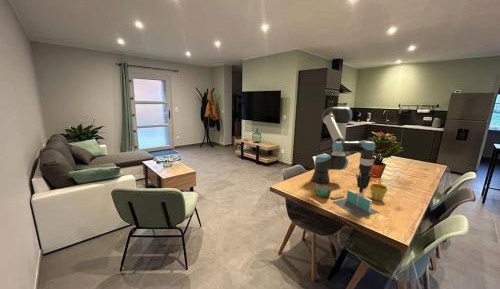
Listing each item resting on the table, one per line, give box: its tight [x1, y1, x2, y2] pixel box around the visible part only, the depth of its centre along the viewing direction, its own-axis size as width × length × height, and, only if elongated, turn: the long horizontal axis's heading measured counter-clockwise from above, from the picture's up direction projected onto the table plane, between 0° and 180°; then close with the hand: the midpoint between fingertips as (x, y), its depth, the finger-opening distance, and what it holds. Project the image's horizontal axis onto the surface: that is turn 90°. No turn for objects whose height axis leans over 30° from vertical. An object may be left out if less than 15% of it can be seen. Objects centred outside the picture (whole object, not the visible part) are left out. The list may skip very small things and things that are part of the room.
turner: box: [329, 194, 345, 201], centre depth 151 cm, size 18×6×2 cm, turn 114°
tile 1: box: [345, 189, 360, 206], centre depth 141 cm, size 8×2×8 cm, turn 24°
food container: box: [314, 182, 333, 199], centre depth 150 cm, size 12×6×10 cm, turn 45°
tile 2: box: [358, 195, 373, 213], centre depth 133 cm, size 8×2×8 cm, turn 24°
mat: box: [331, 197, 380, 219], centre depth 137 cm, size 22×18×1 cm
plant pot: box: [369, 183, 388, 202], centre depth 151 cm, size 10×10×10 cm
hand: (361, 196), depth 145 cm, fingers closed
